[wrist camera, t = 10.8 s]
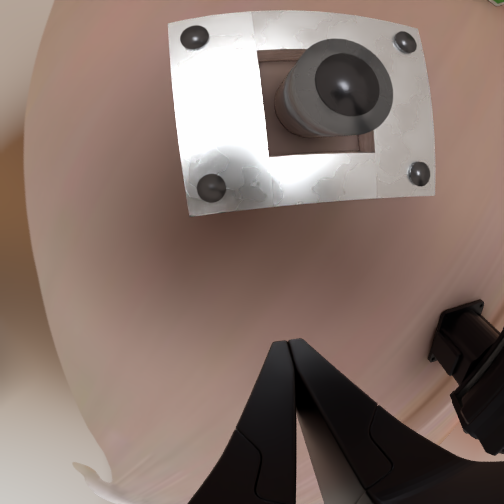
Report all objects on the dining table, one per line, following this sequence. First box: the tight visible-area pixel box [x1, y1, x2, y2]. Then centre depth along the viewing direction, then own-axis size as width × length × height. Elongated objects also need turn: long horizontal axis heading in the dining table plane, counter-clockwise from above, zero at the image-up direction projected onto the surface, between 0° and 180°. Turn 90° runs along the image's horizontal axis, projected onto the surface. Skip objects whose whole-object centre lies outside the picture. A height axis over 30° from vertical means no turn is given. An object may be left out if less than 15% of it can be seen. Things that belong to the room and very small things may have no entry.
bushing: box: [274, 38, 393, 138], centre depth 13 cm, size 4×4×7 cm
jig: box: [168, 10, 435, 217], centre depth 15 cm, size 16×12×3 cm
